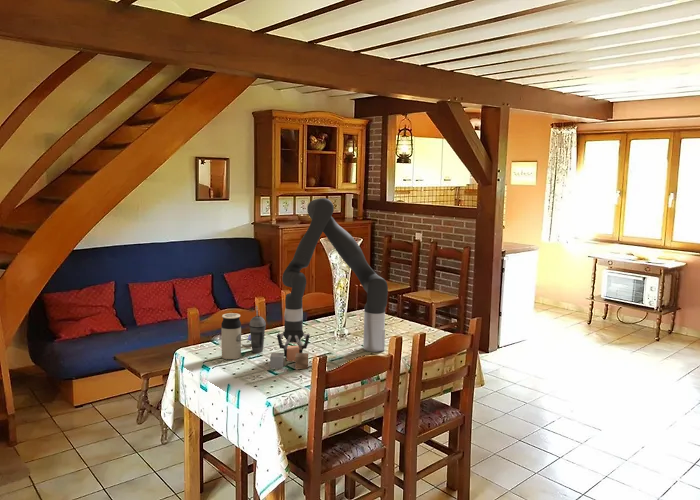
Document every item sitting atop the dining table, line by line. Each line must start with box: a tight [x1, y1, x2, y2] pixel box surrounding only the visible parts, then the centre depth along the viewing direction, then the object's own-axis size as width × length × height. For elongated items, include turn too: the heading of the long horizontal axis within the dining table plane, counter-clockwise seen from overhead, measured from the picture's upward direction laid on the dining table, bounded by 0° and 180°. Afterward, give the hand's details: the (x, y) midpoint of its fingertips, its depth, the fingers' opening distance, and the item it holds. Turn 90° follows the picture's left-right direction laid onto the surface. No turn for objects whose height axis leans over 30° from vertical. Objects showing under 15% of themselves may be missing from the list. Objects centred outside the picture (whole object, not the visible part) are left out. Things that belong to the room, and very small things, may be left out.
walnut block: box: [294, 352, 309, 370], centre depth 232 cm, size 5×5×5 cm
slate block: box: [269, 352, 285, 370], centre depth 231 cm, size 5×5×5 cm
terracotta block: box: [286, 345, 299, 362], centre depth 240 cm, size 5×5×5 cm
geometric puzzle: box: [246, 332, 251, 343], centre depth 258 cm, size 7×7×8 cm
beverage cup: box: [248, 305, 267, 354], centre depth 248 cm, size 7×7×20 cm
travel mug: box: [220, 312, 242, 360], centre depth 240 cm, size 8×8×18 cm
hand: (293, 357), depth 241 cm, fingers closed on terracotta block, 5 cm apart
